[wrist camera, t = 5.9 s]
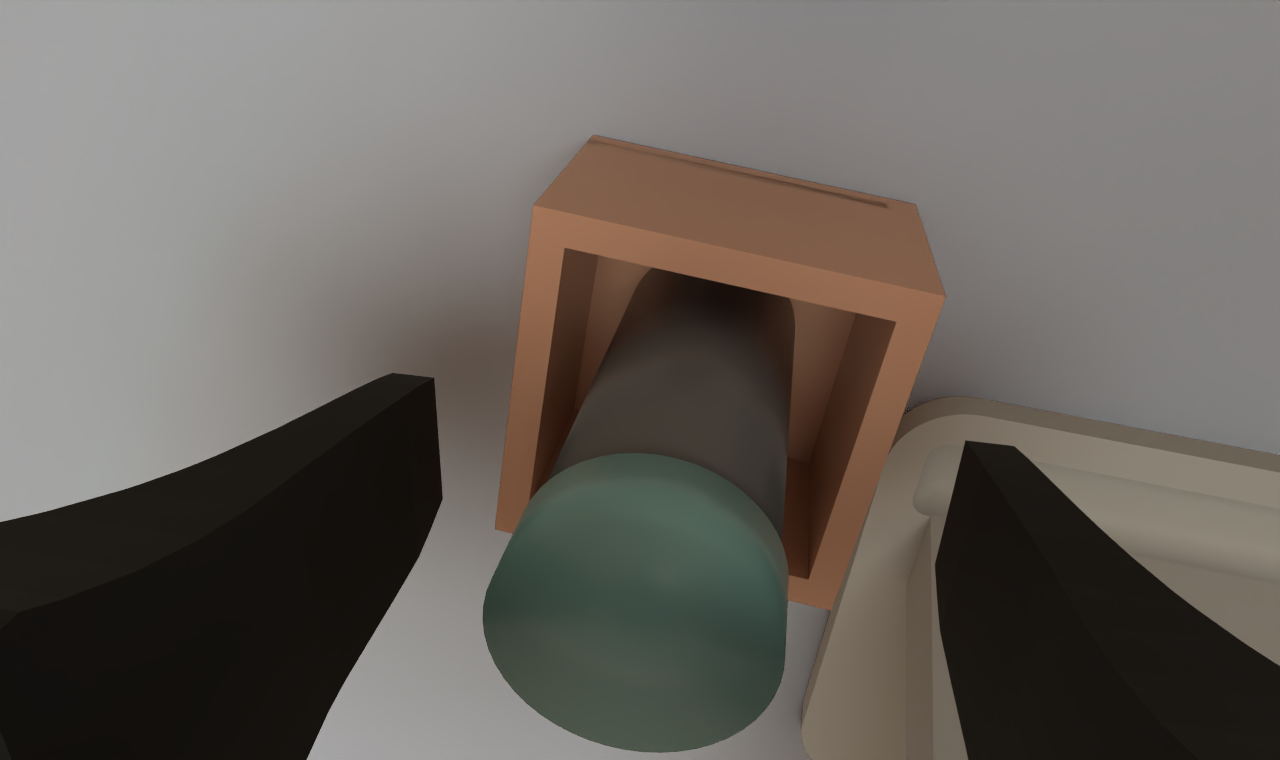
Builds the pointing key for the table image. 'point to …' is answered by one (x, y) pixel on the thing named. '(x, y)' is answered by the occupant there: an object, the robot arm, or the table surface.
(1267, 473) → the phone holder
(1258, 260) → the table surface
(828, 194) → the pen cup
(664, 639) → the marker
